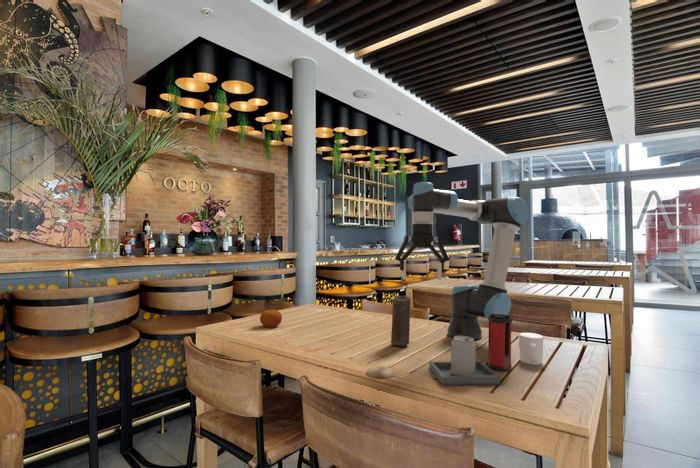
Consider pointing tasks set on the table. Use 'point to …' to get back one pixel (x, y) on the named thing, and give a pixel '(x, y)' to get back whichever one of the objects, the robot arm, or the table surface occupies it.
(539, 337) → the mug
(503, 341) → the speaker
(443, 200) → the robot arm
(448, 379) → the tray
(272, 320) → the fruit
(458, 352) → the can
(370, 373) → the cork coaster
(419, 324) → the table surface
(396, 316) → the dark brown bottle
